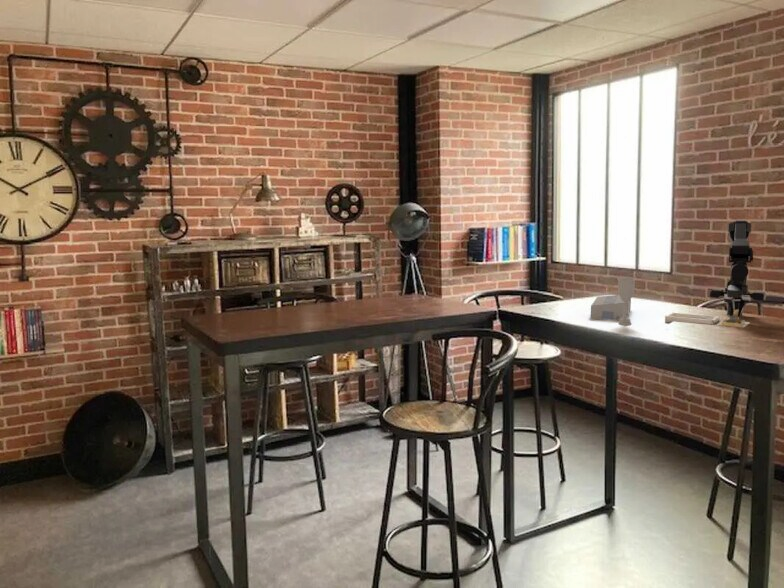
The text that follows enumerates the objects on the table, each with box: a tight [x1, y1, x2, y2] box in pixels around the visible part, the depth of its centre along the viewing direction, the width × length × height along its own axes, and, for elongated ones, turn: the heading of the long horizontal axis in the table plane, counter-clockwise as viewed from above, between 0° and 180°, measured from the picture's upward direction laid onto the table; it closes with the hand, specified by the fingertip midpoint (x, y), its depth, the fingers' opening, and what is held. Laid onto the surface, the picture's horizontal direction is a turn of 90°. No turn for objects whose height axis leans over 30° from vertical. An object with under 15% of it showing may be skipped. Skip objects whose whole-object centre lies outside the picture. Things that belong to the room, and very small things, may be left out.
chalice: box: [616, 277, 637, 326], centre depth 257 cm, size 7×7×18 cm
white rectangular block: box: [716, 315, 751, 328], centre depth 251 cm, size 13×10×4 cm
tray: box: [664, 312, 720, 325], centre depth 260 cm, size 11×18×2 cm, turn 53°
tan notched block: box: [720, 309, 746, 328], centre depth 251 cm, size 6×12×5 cm, turn 143°
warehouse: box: [590, 294, 632, 321], centre depth 283 cm, size 30×14×8 cm, turn 158°
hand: (736, 316), depth 255 cm, fingers closed on tan notched block
